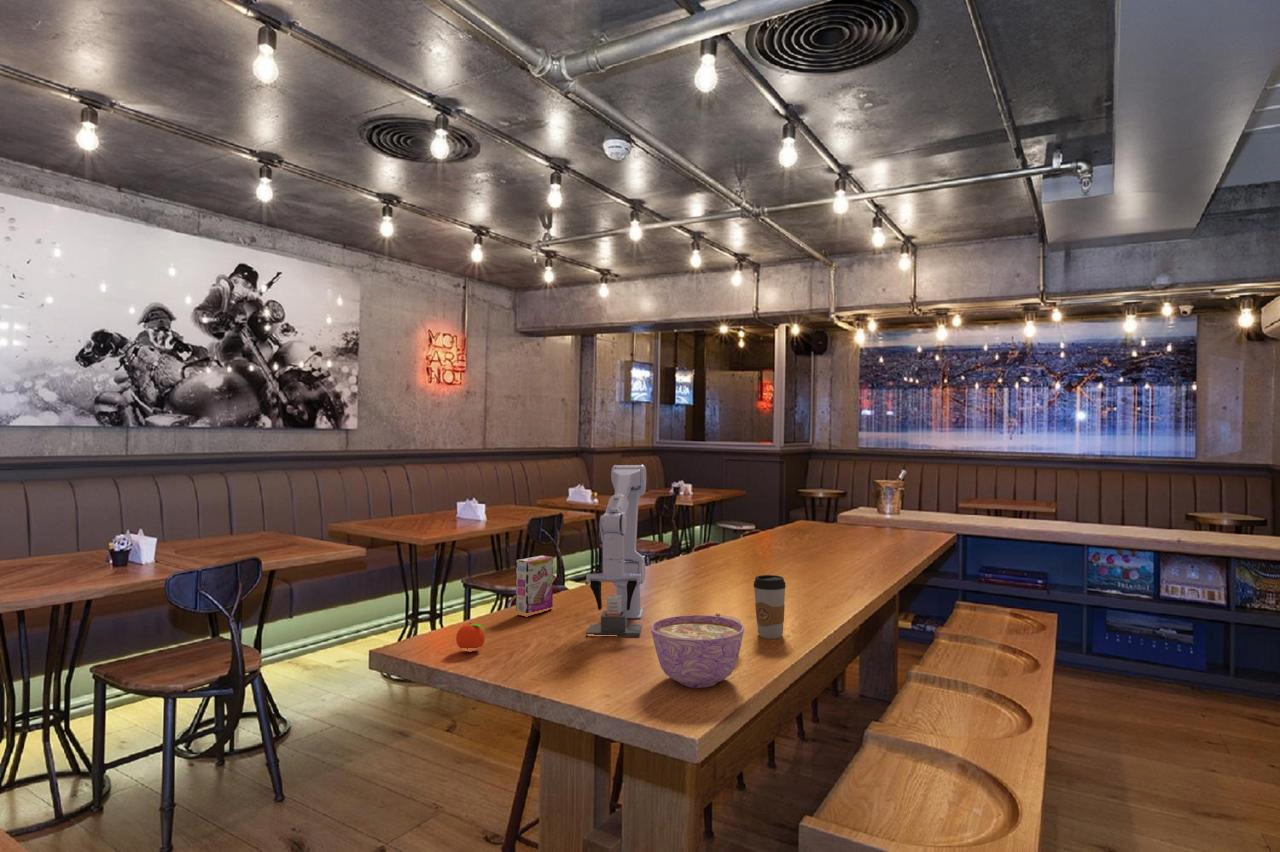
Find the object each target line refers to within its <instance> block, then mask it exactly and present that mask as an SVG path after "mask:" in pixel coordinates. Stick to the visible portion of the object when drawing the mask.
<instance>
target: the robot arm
mask: <svg viewBox="0 0 1280 852" xmlns="http://www.w3.org/2000/svg"><path fill="white" fill-rule="evenodd" d="M610 477H611V480H610V481H611V484H612V486H613V489H614V495H611V496H610V497H609V499H608V502H607V507H606V509H605V513H604V514H602V515H601V516H600V517H599V533H600V540H601V542H602V572H601V573H587V574H586V577H585V578H586V583H589V587H590V589H591V591H592V593H593V595H594V598H595V602H596V605H597V610H598V611H601V610H602V606H603V604H602V583H612V584H613V586H614V587H615V595H621V600H622V611H627V619H641V618H642V616H643V611H644V609H643V608H641V585H642V584H644V582H645V580H646V560H645V557H644V556H643V555H642V554H641V553H639V552H638V551H637V541H638V540H637V538H638V537H637V535H638V517H639V516H638V515H639V514H638V513H639V502H640V499H641V496H643V495H645V494H646V490H647V468H646V466H645V465H644V464H634V465H633V464H632V465H631V464H630V465H629V464H625V465H622V464H621V465H617V464H614V465H613V466H612V467H611V473H610Z"/></svg>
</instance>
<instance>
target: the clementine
mask: <svg viewBox="0 0 1280 852" xmlns="http://www.w3.org/2000/svg"><path fill="white" fill-rule="evenodd" d="M486 635H488V634H487V630H486V629H485V627H483V626H482V625H480V624H478V623H475V622H474V623H473V622H469V623H466V624H464V625H462V626H461V627H460V628H459V629H458V631H457V632H456V635H455V640H456V641H455V642H456V644H457V647H458V648H459V647H460V648H467V649H468V648H478V647H481V646H482V647H483V645H484V643H485V639H486ZM482 647H481V648H482ZM460 648H459V649H460Z"/></svg>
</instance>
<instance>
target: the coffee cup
mask: <svg viewBox="0 0 1280 852" xmlns="http://www.w3.org/2000/svg"><path fill="white" fill-rule="evenodd" d="M786 587H787V585H786V581H785V578H784V576H781V575H775V574H772V575H771V574H762V575H757V576H755V578H754V581H753V590H754V600H755V602H754V603H755V604H754V605H755V614H756V615H755V617H756V624H757V627H756V628H757V634H758V636H759V637H761V638H763V639H770V640H771V639H773V640H775V639H780V638H782V636H783V635H784V623H785V622H784V621H785V607H786V605H785V594H786Z"/></svg>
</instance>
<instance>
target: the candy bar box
mask: <svg viewBox="0 0 1280 852" xmlns="http://www.w3.org/2000/svg"><path fill="white" fill-rule="evenodd" d="M553 559H554V558H553V556H550V555H537V556H532V557H526V558H521V559H516V561H515V563H516V565H515V566H516V567H515V569H516V570H515V571H516V572H515V573H516V575H515V577H516V578H515V579H516V583H515V585H516V588H515V589H516V590H515V593H516V595H515V598H516V599H515V606H516V607H515V608H516V610H515V612H516V611H521V612H523V613H531V612H535V611H539V610H543V609H547V608H551V607H553V605H554V604H553V598H554V597H553V594H554V593H553V584H554V583H553V579H554V578H553V577H554V575H553V570H554V567H553V566H554V564H553V563H554V560H553Z"/></svg>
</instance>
